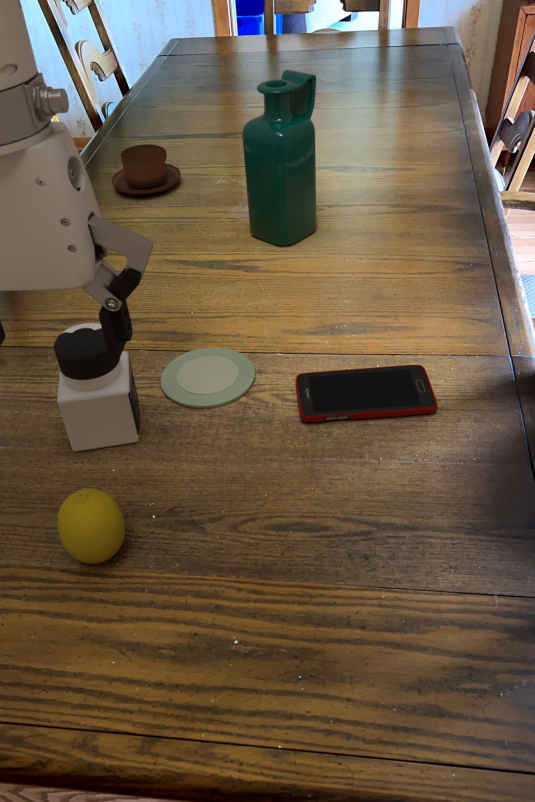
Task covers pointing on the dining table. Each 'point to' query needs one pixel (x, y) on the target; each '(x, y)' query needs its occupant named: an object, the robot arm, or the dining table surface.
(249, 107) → the dining table surface
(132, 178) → the cup and saucer
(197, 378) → the saucer
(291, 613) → the dining table surface
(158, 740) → the dining table surface
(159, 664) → the dining table surface
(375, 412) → the cell phone
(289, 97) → the pitcher
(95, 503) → the lemon
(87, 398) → the medicine bottle
